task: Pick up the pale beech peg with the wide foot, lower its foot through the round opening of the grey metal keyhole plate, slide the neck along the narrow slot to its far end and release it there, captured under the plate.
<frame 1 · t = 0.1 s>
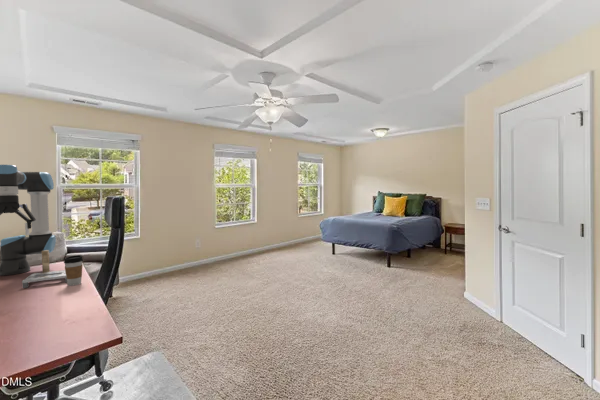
hand: (10, 236, 151), 28 cm above the table, fingers open, 13 cm apart
beech peg: (46, 277, 175), on the table
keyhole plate: (51, 281, 166), on the table
coffee cup: (74, 284, 160), on the table
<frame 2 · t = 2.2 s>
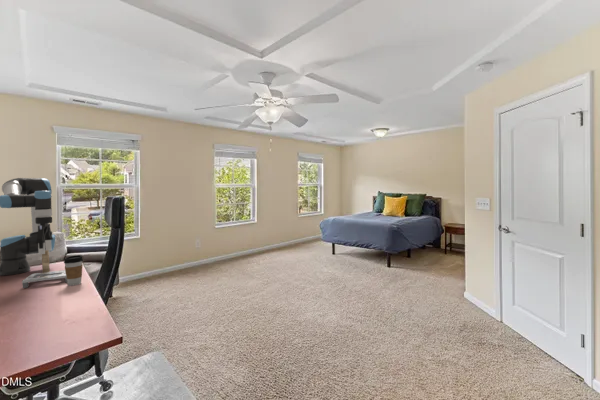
hand: (45, 252, 175), 15 cm above the table, fingers open, 13 cm apart
nothing on the table moved.
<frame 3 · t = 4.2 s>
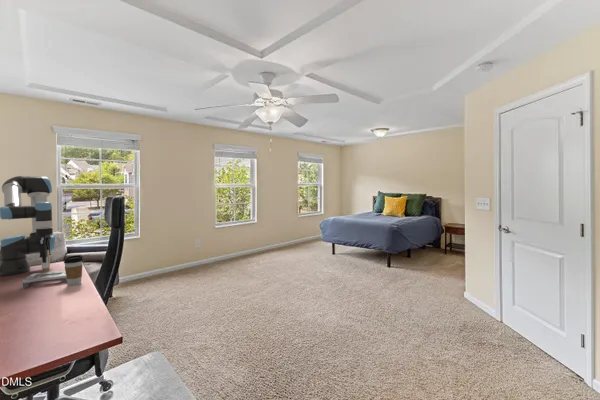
hand: (45, 267, 175), 6 cm above the table, fingers closed on beech peg, 3 cm apart
beech peg: (46, 277, 175), on the table, touching gripper
everything else where it was.
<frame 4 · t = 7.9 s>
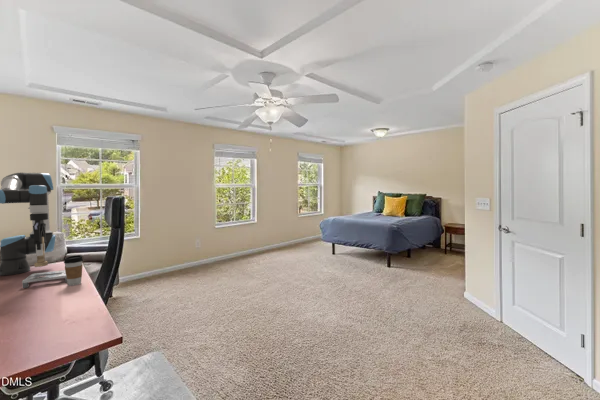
hand: (40, 254, 164), 16 cm above the table, fingers closed on beech peg, 3 cm apart
beech peg: (41, 265, 164), point 10 cm above the table, touching gripper
everything else where it was.
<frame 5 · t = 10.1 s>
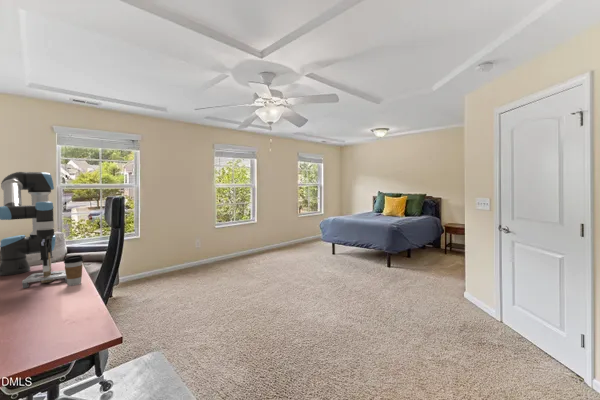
hand: (47, 270, 165), 6 cm above the table, fingers closed on beech peg, 3 cm apart
beech peg: (47, 281, 166), on the table, touching gripper
everything else where it was.
when the fingers open (6 cm above the table, at t = 11.9 s): beech peg stays where it is, on the table.
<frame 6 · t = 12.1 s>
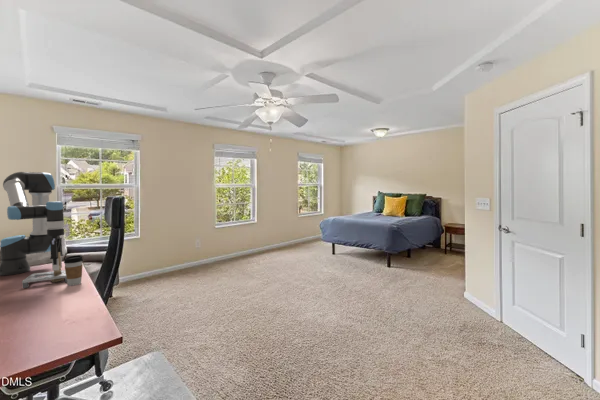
hand: (57, 268, 168), 7 cm above the table, fingers open, 6 cm apart
beech peg: (57, 280, 168), on the table
everything else where it was.
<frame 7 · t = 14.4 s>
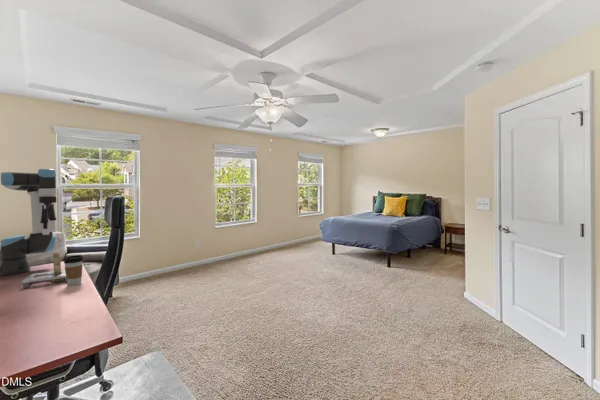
hand: (49, 233, 168), 27 cm above the table, fingers open, 13 cm apart
nothing on the table moved.
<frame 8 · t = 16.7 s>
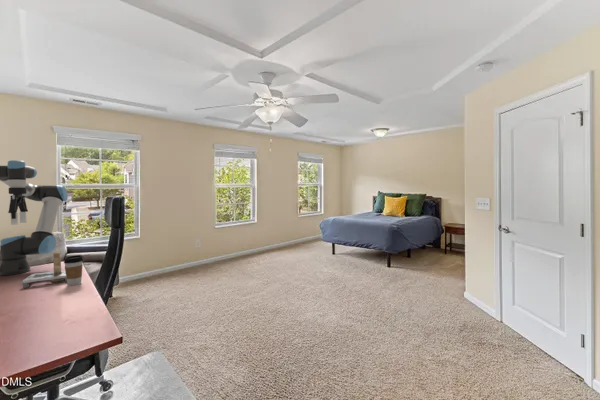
hand: (19, 223, 172), 33 cm above the table, fingers open, 13 cm apart
nothing on the table moved.
at the end: beech peg 0.5 cm from the target spot on the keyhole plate, point 0.0 cm above the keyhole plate's base; beech peg tilted 0°; the gripper is holding nothing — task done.
